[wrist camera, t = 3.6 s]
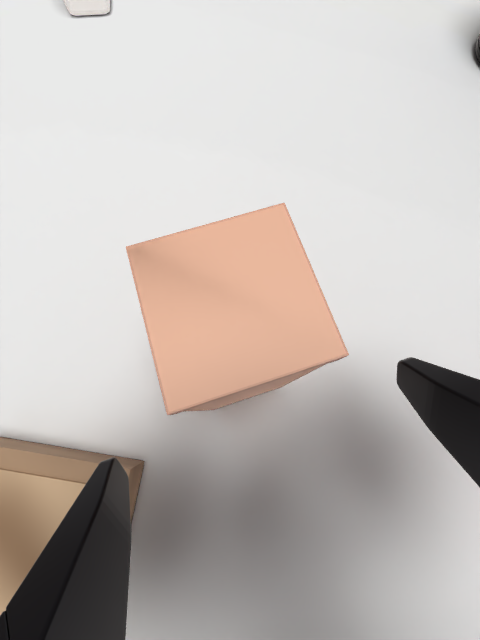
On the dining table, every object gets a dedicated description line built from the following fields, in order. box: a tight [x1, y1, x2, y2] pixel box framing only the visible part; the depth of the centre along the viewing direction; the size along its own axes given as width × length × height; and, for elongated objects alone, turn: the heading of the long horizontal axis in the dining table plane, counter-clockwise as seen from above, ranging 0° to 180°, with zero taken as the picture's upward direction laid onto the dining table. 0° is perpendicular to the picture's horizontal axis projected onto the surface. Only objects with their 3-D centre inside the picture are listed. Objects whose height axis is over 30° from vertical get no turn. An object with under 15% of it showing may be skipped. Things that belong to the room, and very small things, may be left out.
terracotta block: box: [126, 203, 349, 415], centre depth 14 cm, size 5×5×12 cm
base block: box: [0, 437, 145, 615], centre depth 16 cm, size 9×9×3 cm
